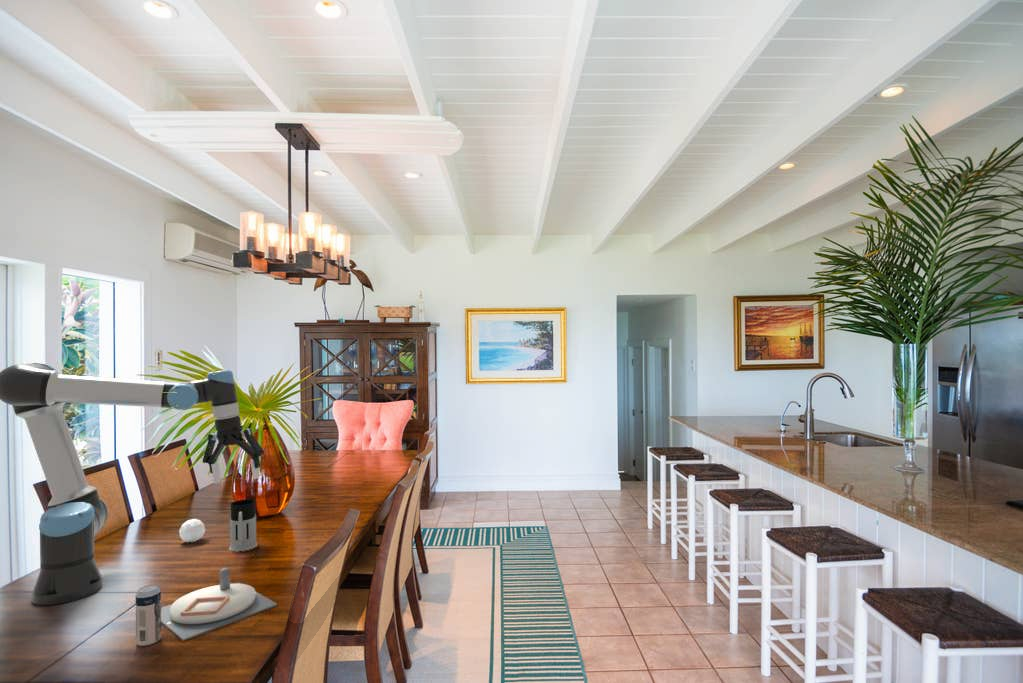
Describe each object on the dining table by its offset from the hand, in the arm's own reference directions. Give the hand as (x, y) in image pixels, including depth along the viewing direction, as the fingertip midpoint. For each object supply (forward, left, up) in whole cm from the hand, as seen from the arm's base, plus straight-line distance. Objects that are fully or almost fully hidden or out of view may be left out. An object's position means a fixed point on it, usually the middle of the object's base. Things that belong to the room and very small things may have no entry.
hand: (237, 480), depth 183 cm
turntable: (-23, -38, -23) cm, 50 cm away
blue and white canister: (-39, -43, -23) cm, 63 cm away
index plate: (-23, -38, -23) cm, 50 cm away
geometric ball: (-6, +23, -23) cm, 33 cm away
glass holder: (+1, 0, -23) cm, 23 cm away
